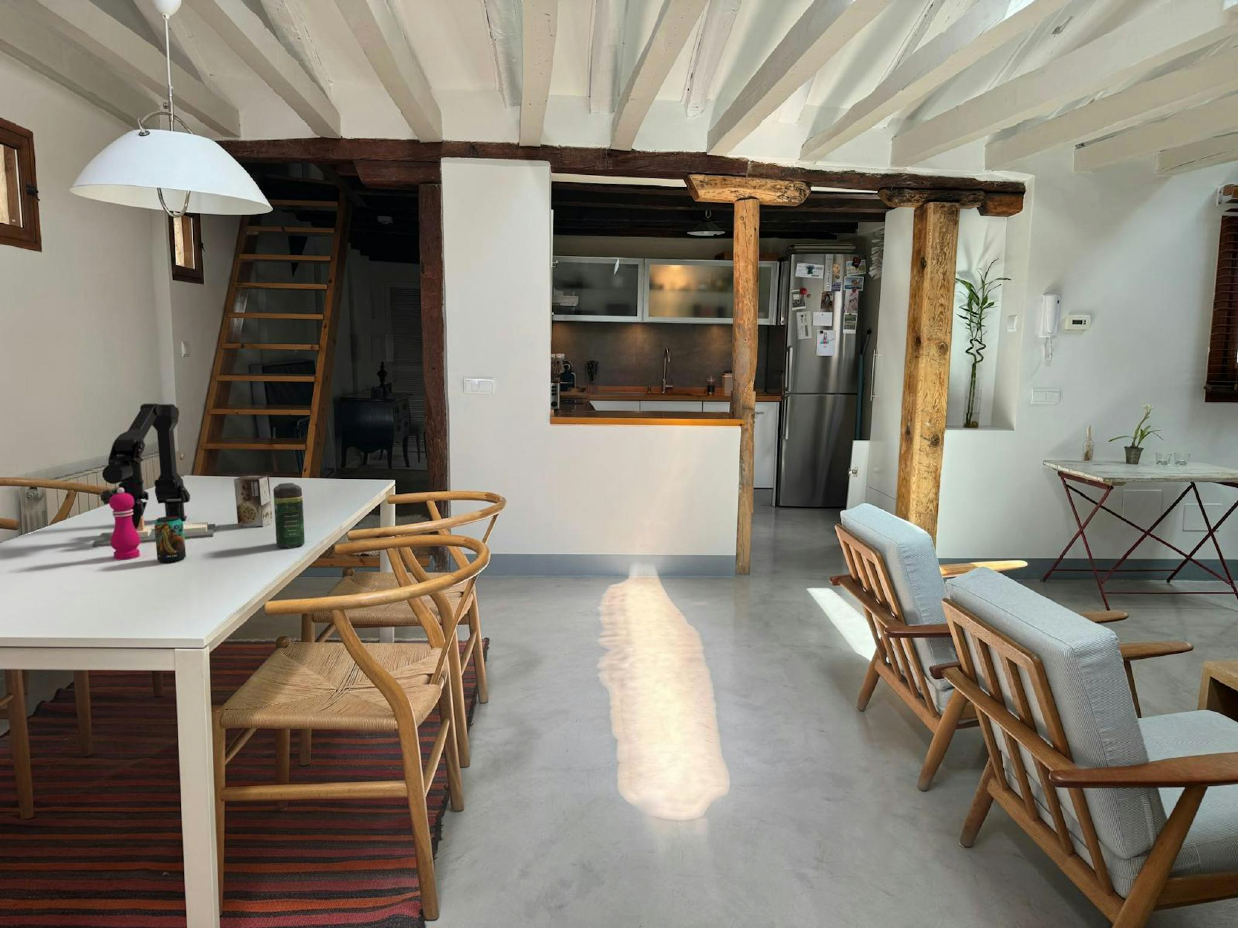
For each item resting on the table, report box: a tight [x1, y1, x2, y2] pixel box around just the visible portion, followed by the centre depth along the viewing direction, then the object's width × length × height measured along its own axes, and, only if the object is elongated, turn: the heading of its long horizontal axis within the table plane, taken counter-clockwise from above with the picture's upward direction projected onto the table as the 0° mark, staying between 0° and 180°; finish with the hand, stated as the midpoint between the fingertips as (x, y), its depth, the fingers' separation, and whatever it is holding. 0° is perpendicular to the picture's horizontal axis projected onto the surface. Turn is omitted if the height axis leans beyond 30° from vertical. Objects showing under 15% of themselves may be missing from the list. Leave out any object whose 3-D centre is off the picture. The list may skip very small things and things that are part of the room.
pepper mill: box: [108, 488, 141, 561], centre depth 226 cm, size 7×7×20 cm
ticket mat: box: [92, 521, 216, 548], centre depth 252 cm, size 16×32×2 cm, turn 114°
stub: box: [136, 515, 152, 537], centre depth 250 cm, size 8×6×6 cm
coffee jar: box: [272, 482, 306, 549], centre depth 240 cm, size 10×8×19 cm
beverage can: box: [153, 516, 187, 564], centre depth 224 cm, size 7×7×12 cm
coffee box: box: [233, 475, 273, 527], centre depth 267 cm, size 9×6×16 cm
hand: (136, 527), depth 250 cm, fingers closed on stub, 4 cm apart
